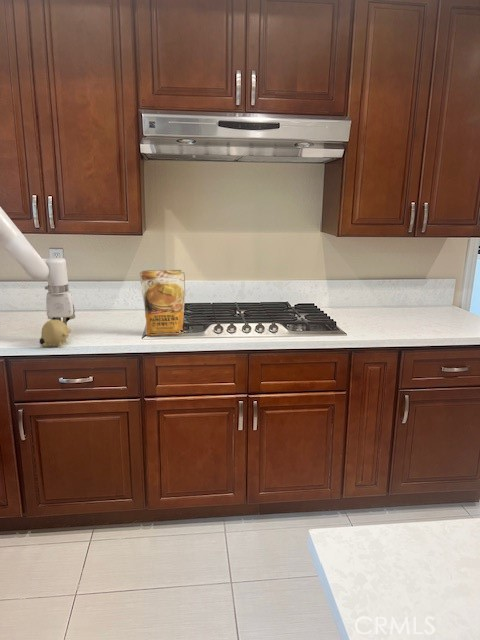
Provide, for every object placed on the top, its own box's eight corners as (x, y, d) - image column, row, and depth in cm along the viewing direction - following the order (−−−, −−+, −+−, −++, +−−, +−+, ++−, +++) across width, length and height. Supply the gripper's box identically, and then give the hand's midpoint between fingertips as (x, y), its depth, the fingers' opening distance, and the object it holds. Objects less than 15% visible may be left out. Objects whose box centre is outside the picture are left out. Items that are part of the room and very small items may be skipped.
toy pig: (60, 349, 191) (39, 332, 190) (78, 329, 189) (57, 312, 188) (50, 357, 182) (28, 339, 180) (69, 336, 180) (47, 317, 178)
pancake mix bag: (142, 332, 205) (139, 269, 198) (185, 330, 209) (184, 268, 201) (142, 337, 199) (139, 272, 191) (187, 335, 202) (186, 271, 195)
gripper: (36, 291, 182) (41, 335, 187) (75, 290, 183) (79, 334, 188) (42, 287, 189) (47, 330, 194) (80, 286, 191) (83, 329, 196)
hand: (63, 332), depth 191 cm, fingers closed
